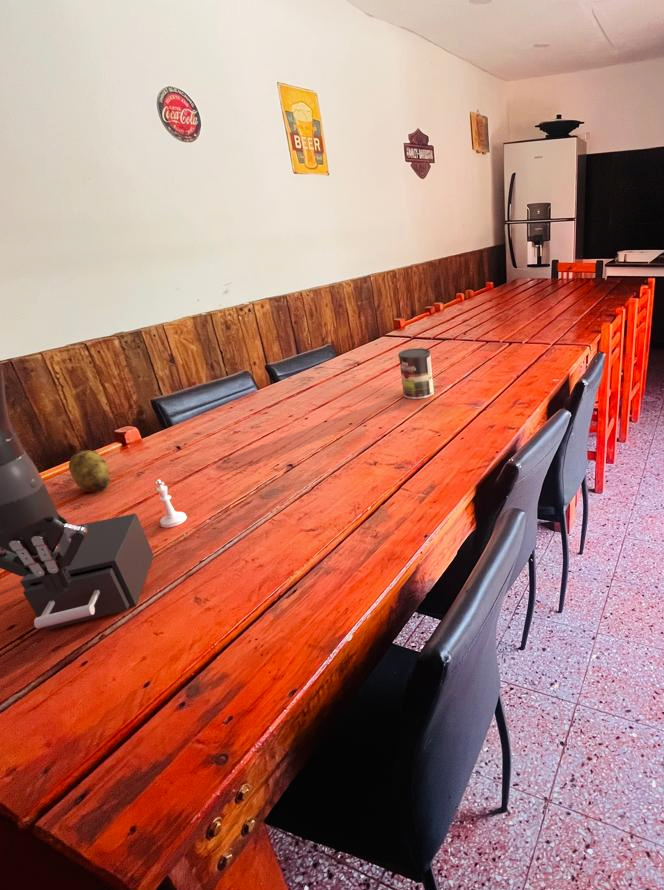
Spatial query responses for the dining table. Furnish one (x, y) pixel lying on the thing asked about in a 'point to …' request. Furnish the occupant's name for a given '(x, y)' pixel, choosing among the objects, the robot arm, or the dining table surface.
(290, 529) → the dining table surface
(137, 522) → the small drawer cabinet
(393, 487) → the dining table surface
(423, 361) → the coffee can
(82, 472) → the potato
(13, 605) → the dining table surface
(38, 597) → the dark grey drawer
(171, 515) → the chess piece
